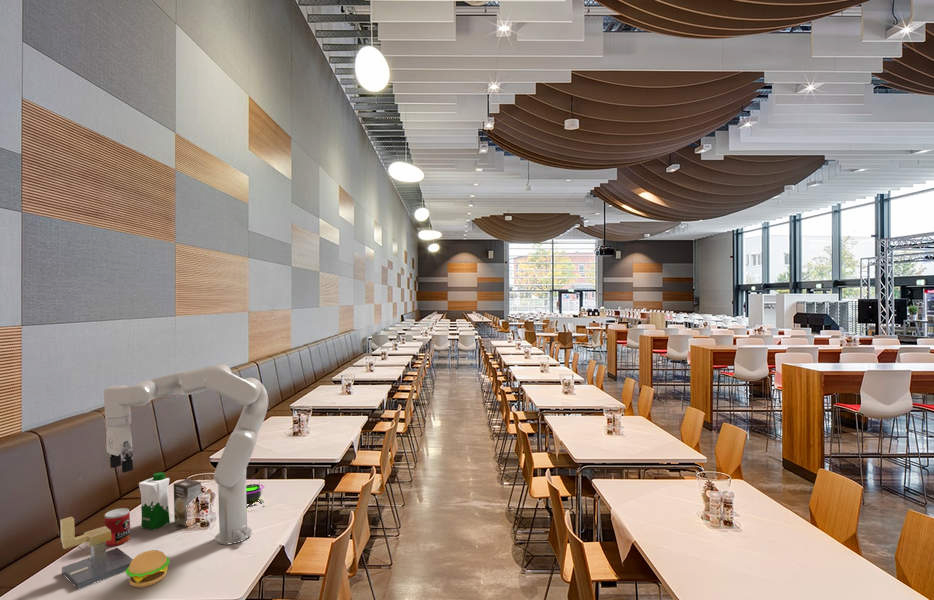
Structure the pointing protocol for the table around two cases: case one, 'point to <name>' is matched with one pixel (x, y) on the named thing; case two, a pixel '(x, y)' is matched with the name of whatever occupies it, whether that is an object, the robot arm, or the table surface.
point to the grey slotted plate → (97, 566)
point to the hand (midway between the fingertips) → (121, 469)
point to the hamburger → (147, 568)
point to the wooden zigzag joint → (88, 537)
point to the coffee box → (184, 498)
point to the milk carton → (154, 501)
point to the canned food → (118, 526)
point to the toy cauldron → (253, 494)
